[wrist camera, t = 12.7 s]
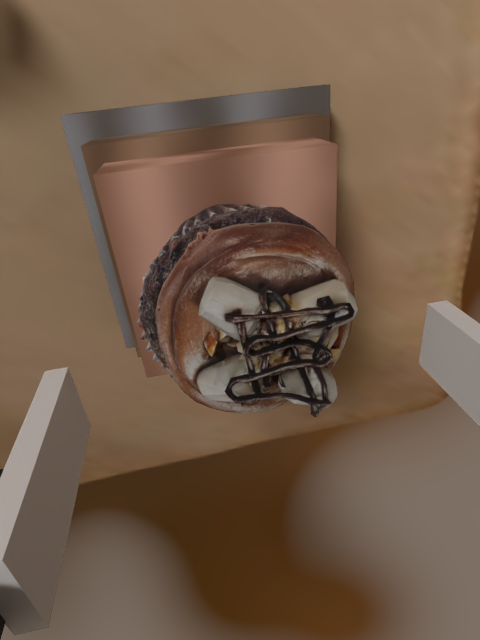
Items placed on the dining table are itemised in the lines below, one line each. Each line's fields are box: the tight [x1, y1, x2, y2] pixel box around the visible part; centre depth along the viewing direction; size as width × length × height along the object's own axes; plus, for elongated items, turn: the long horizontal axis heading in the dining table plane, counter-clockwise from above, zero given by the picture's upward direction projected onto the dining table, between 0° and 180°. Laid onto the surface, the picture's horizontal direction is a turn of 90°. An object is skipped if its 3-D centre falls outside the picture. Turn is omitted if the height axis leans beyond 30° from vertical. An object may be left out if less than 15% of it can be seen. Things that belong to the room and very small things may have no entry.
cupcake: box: [137, 204, 358, 417], centre depth 18 cm, size 10×10×10 cm
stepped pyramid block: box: [60, 85, 338, 377], centre depth 27 cm, size 17×17×11 cm
